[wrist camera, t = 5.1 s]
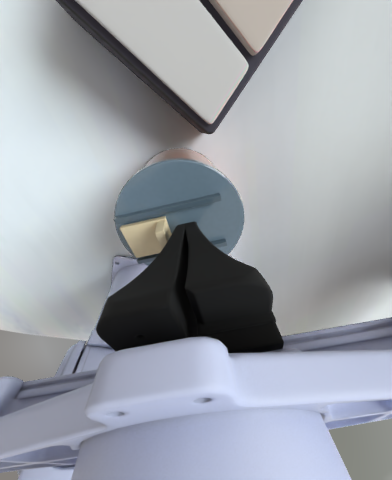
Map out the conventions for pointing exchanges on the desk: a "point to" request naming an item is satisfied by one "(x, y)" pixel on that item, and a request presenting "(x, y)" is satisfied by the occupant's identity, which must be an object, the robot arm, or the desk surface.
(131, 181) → the tumbler
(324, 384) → the robot arm
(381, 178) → the desk surface
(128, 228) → the lid slider
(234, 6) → the dark grey flat box
